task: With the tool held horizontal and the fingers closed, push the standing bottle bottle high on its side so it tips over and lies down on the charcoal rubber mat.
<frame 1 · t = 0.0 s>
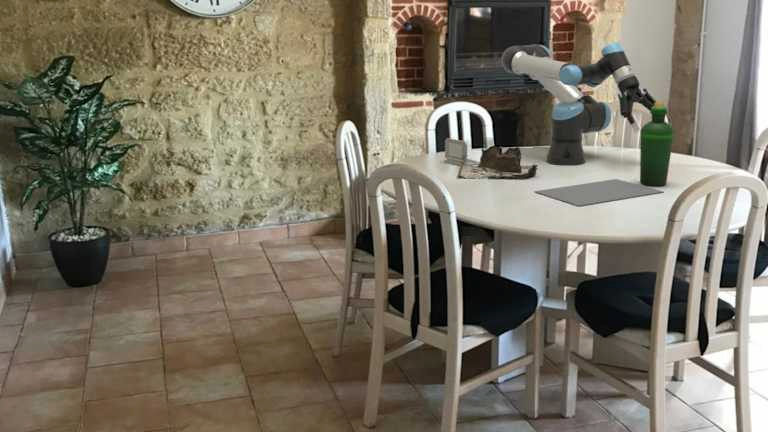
hand: (650, 129, 278), 15 cm above the table, tool tilted 35°, fingers open, 13 cm apart
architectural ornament: (499, 174, 281), on the table
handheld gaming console: (462, 163, 300), on the table
bottle: (652, 184, 258), on the table
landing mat: (598, 192, 248), on the table
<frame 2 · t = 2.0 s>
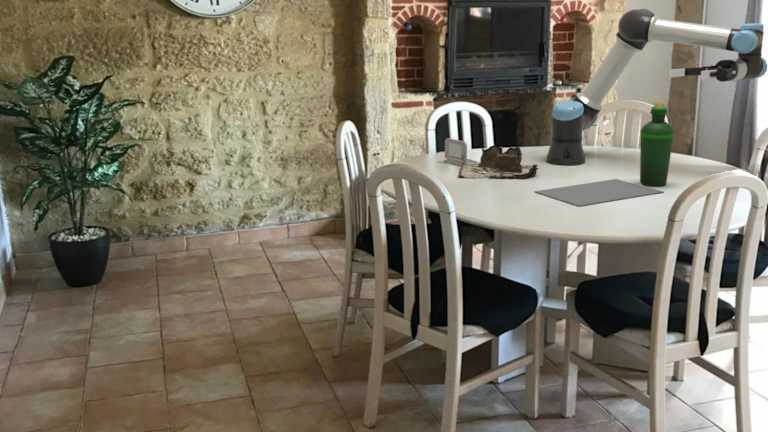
hand: (685, 74, 254), 37 cm above the table, tool horizontal, fingers open, 13 cm apart
nothing on the table moved.
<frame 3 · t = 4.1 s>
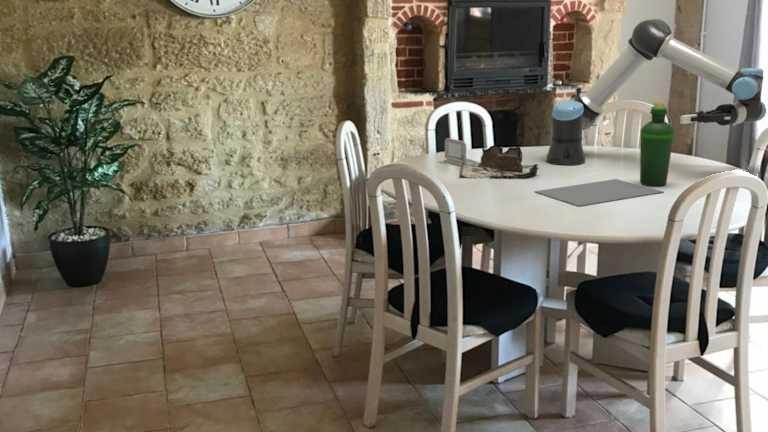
hand: (682, 119, 257), 22 cm above the table, tool horizontal, fingers closed
nothing on the table moved.
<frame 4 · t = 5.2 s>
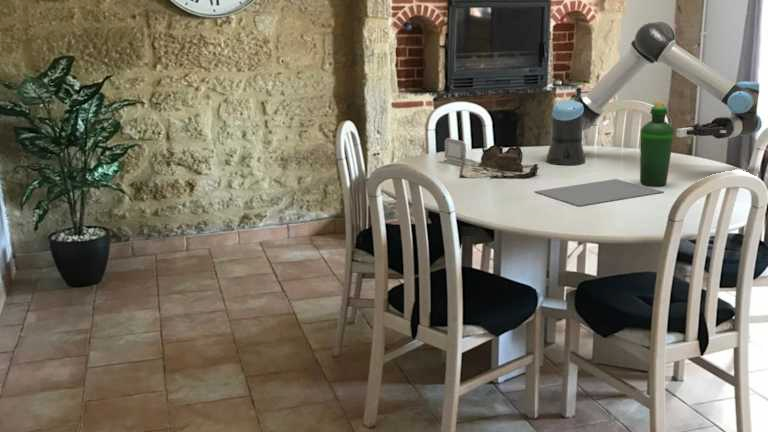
hand: (678, 133, 258), 17 cm above the table, tool horizontal, fingers closed
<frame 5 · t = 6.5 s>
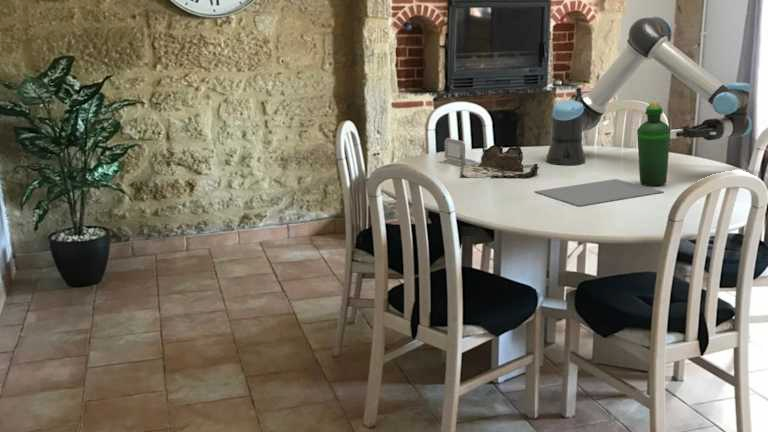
hand: (667, 134, 255), 17 cm above the table, tool horizontal, fingers closed
bottle: (653, 183, 258), on the table, touching gripper
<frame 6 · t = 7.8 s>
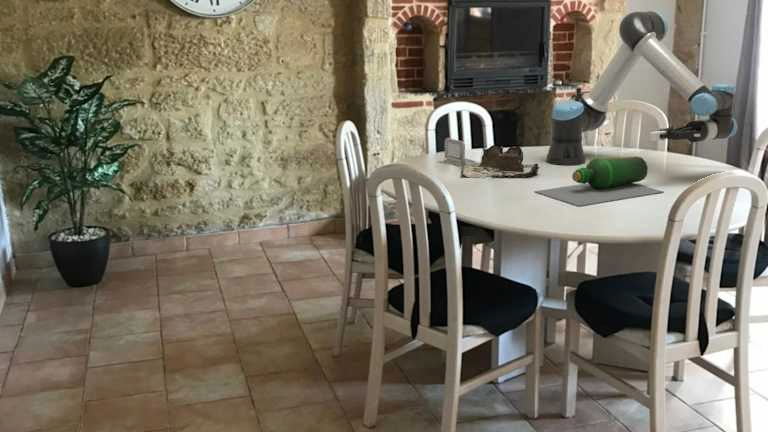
hand: (650, 136, 252), 17 cm above the table, tool horizontal, fingers closed
bottle: (639, 168, 258), point 5 cm above the table
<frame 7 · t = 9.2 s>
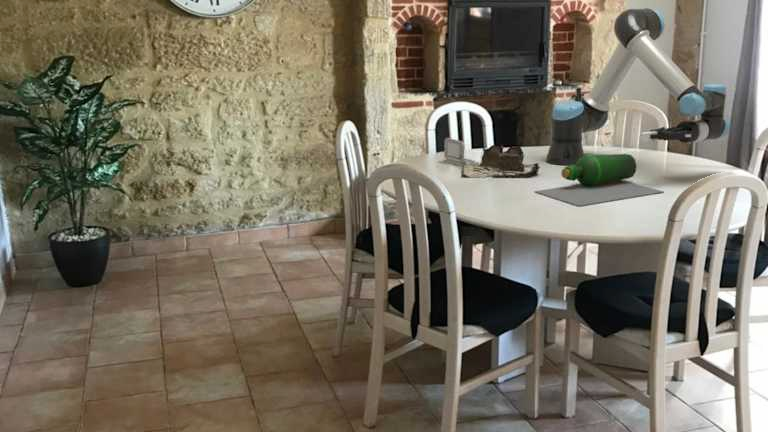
hand: (641, 137, 251), 17 cm above the table, tool horizontal, fingers closed
bottle: (629, 166, 262), point 5 cm above the table, touching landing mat
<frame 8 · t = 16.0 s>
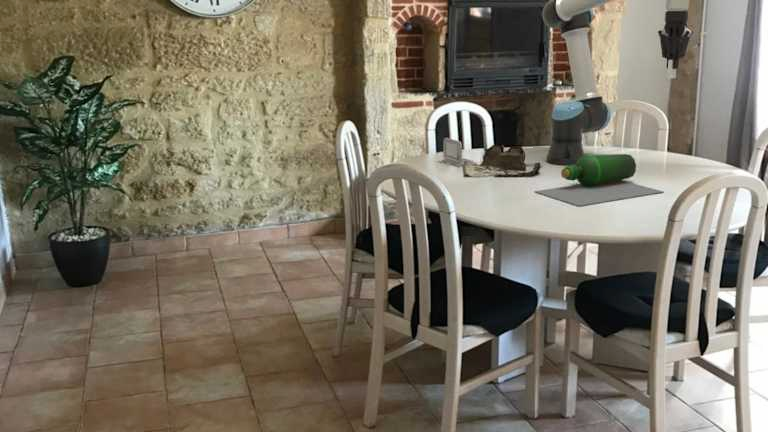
hand: (671, 78, 269), 34 cm above the table, tool pointing down, fingers closed
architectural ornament: (503, 172, 284), on the table
at the end: bottle tilted 89°; bottle touching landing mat; bottle inside the target area (8.9 cm from its centre), point 5.4 cm above the table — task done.
